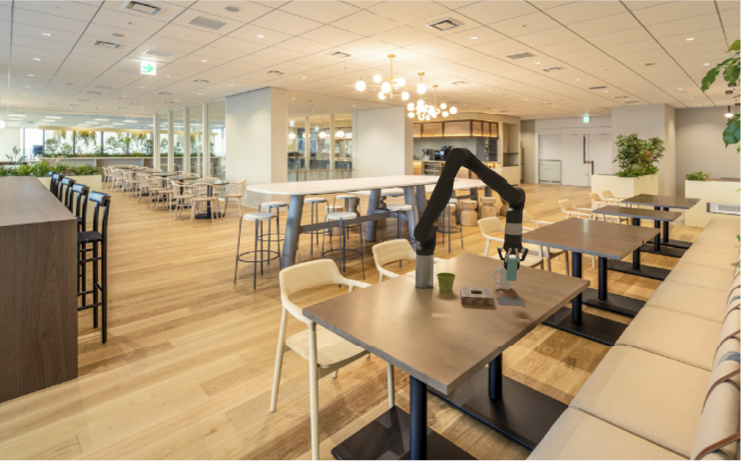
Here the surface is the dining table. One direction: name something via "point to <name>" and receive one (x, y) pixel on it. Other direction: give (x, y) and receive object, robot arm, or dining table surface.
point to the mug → (502, 278)
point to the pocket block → (476, 296)
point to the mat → (510, 301)
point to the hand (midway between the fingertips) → (511, 269)
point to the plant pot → (446, 281)
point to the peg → (511, 269)
